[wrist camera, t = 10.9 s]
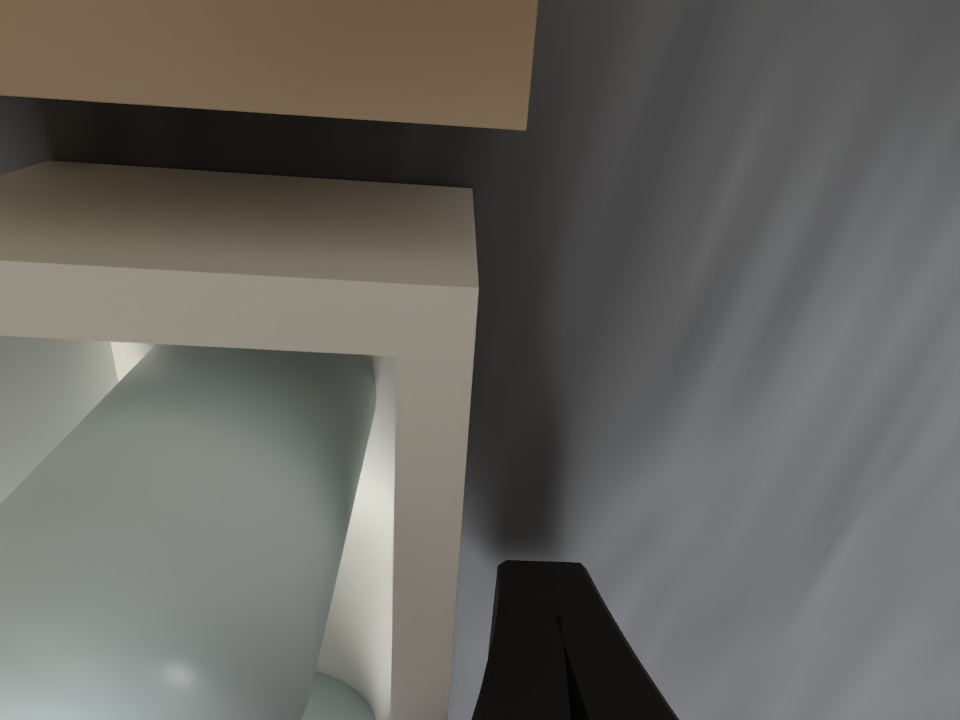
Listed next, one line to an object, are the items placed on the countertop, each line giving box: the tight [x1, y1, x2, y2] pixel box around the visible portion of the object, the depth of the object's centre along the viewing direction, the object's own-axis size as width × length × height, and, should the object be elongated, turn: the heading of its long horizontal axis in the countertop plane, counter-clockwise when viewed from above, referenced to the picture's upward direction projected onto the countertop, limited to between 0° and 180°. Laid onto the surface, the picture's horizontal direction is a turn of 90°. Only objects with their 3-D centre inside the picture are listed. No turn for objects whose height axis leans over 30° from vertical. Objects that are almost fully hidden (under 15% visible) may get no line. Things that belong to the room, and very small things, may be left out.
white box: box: [0, 160, 479, 720], centre depth 8 cm, size 12×5×5 cm, turn 176°
